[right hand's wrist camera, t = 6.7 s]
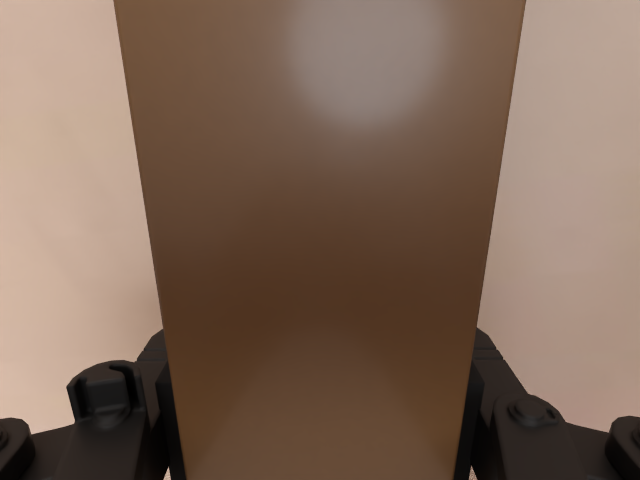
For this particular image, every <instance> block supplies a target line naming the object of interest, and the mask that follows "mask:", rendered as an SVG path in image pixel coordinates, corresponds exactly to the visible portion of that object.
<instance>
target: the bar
mask: <svg viewBox="0 0 640 480" xmlns="http://www.w3.org/2000/svg"><path fill="white" fill-rule="evenodd" d="M113 1H114V7H115V14H116V20H117V27H118V33H119V40H120V47H121V53H122V60H123V66H124V73H125V80H126V86H127V93H128V99H129V106H130V112H131V119H132V126H133V132H134V139H135V145H136V152H137V159H138V165H139V172H140V178H141V185H142V191H143V198H144V205H145V211H146V218H147V224H148V231H149V238H150V244H151V251H152V257H153V264H154V270H155V277H156V284H157V290H158V297H159V303H160V310H161V317H162V323H163V330H164V336H165V343H166V349H167V356H168V363H169V369H170V376H171V382H172V389H173V396H174V402H175V409H176V415H177V422H178V428H179V435H180V442H181V448H182V455H183V461H184V468H185V475H186V480H453V479H454V472H455V465H456V459H457V452H458V446H459V439H460V432H461V426H462V419H463V413H464V406H465V399H466V393H467V386H468V380H469V373H470V366H471V360H472V353H473V347H474V340H475V333H476V327H477V320H478V314H479V307H480V300H481V294H482V287H483V280H484V274H485V267H486V261H487V254H488V247H489V241H490V234H491V228H492V221H493V214H494V208H495V201H496V195H497V188H498V181H499V175H500V168H501V162H502V155H503V148H504V142H505V135H506V129H507V122H508V115H509V109H510V102H511V96H512V89H513V82H514V76H515V69H516V63H517V56H518V49H519V43H520V36H521V30H522V23H523V16H524V10H525V3H526V0H113Z"/></svg>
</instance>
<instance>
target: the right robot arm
mask: <svg viewBox="0 0 640 480" xmlns="http://www.w3.org/2000/svg"><path fill="white" fill-rule="evenodd" d="M66 388H67V392H68V395H69V399H70V403H71V407H72V411H73V415H74V418H75V423H74V424H72V425H69V426H66V427H62V428H58V429H53V430H49V431H45V432H40V433H36V434H32V435H31V432H30V429H29V426H28V424H27V423H26V422H24V421H23V420H22V419H16V418H5V419H0V480H163V479H164V476H165V474H166V471H167V469H168V466H169V470H170V476H171V480H186V475H185V468H184V461H183V455H182V448H181V442H180V435H179V428H178V422H177V415H176V409H175V402H174V396H173V389H172V382H171V376H170V369H169V363H168V356H167V349H166V343H165V336H164V330H163V329H162V330H161V331H159V332H158V333H156V334H155V335H154V336H152V337H151V339H150V340H149V342H148V343H147V345H146V346H145V348H144V351H142V352H141V354H140V355H139V357H138V358H137V361H135V362H134V363H133V362H129V361H125V360H114V361H108V362H104V363H100V364H96V365H94V366H92V367H90V368H87V369H85V370H83V371H82V372H81V373H79V374H78V375H77V376H75V377H74V378H73V379H72V380H71V381H70V383H69V384H68V385H67V387H66ZM471 465H472V468H473V470H474V473H475V475H476V477H477V480H640V417H634V416H625V417H619V418H617V419H616V420H615V421H614V422H613V423H612V425H611V428H610V431H609V433H607V432H603V431H598V430H594V429H590V428H585V427H581V426H577V425H574V424H570V423H567V422H565V420H564V419H563V417H562V416H561V414H560V413H559V411H558V410H557V409H555V408H554V407H553V406H552V405H551V404H549V403H548V402H546V401H544V400H542V399H540V398H538V397H536V396H534V395H530V394H528V393H527V392H526V390H525V389H524V387H523V386H522V384H521V383H520V382H519V380H518V379H517V377H516V376H515V374H514V373H513V371H512V370H511V368H510V367H509V365H508V364H507V363H506V361H505V360H503V357H502V355H501V354H500V352H499V351H498V350H496V346H495V345H494V343H493V342H492V341H491V339H490V338H489V336H488V335H487V334H485V333H484V332H483V331H481V330H480V329H478V328H477V327H476V333H475V340H474V347H473V353H472V360H471V366H470V373H469V380H468V386H467V393H466V399H465V406H464V413H463V419H462V426H461V432H460V439H459V446H458V452H457V459H456V465H455V472H454V479H453V480H469V475H470V469H471Z"/></svg>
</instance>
